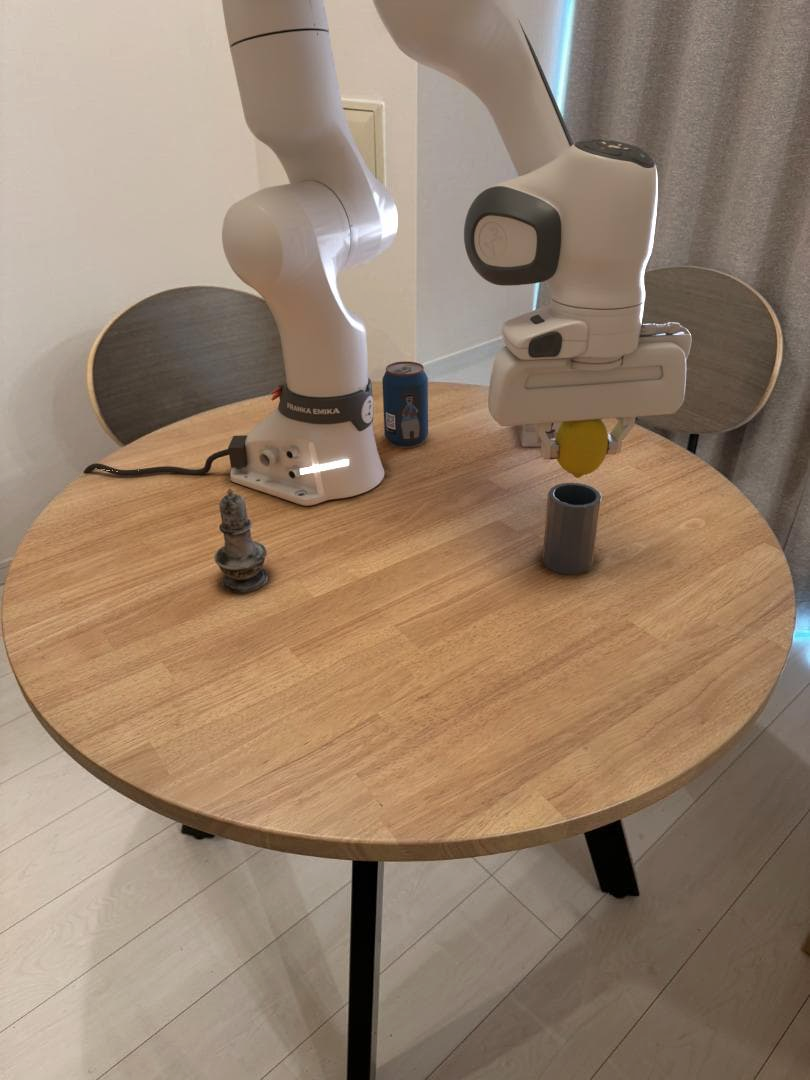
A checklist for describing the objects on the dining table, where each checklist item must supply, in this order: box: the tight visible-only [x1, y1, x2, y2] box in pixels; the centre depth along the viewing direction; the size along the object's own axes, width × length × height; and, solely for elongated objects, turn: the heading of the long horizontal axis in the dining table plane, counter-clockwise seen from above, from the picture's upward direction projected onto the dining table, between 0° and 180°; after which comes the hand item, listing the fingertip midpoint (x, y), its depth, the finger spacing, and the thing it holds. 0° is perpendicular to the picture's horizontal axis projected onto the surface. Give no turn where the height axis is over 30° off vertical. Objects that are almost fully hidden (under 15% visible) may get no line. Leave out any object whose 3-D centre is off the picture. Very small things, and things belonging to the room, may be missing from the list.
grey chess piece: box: [213, 488, 269, 594], centre depth 82 cm, size 6×6×12 cm
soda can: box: [381, 361, 429, 449], centre depth 114 cm, size 7×7×12 cm
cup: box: [542, 482, 603, 576], centre depth 85 cm, size 6×6×9 cm
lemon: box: [556, 419, 609, 479], centre depth 79 cm, size 6×6×8 cm
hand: (579, 454), depth 80 cm, fingers closed on lemon, 5 cm apart
